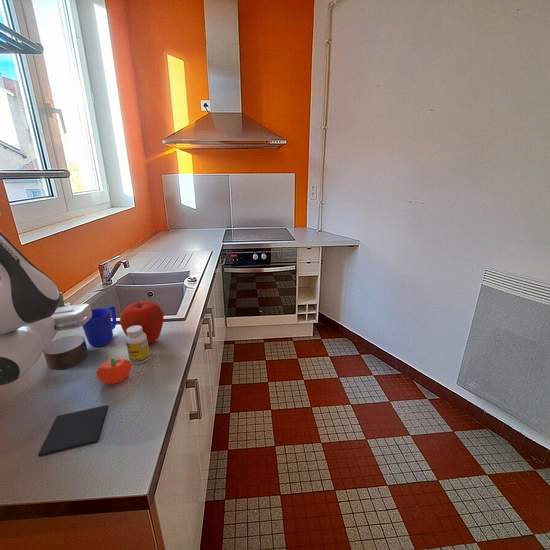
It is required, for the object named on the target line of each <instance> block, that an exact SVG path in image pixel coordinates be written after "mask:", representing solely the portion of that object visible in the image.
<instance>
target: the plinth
mask: <svg viewBox="0 0 550 550" xmlns="http://www.w3.org/2000/svg"><path fill="white" fill-rule="evenodd" d="M42 354H43V356H44V359H45V363H46V366H47V368H48V369H49V370H54V371H60V370H65V369H69V368H72V367H74V366H77V365H79V364H81V363H82V362H84V361H85V360H86V359H87V358H88V357H89V355H90V354H89V350H88V345H87V342H86V338H85V337H84V336H83V335H78V334H74V335H66V336H63V337H60V338H56V339H53V340H52V342H51V343H50V344H49V346H48V347H47V348H46V349H45V350H44V351H43V352H42Z"/></svg>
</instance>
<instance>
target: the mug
mask: <svg viewBox="0 0 550 550" xmlns="http://www.w3.org/2000/svg"><path fill="white" fill-rule="evenodd" d="M91 310H92V317H91V318H90V319H89V321H88V322H87V323H86V324H84V325H83V326H81V327H82V329H83V332H84V335H85V337H86V340H87V342H88V344H89V345H90V346H92V347H102V346H105V345H107V344H110V343H111V341H112V340H113V338H114V332H113V330H114V329H115V328H116V326H117V312H116V307H115V305H110V306H108V307H100V308H99V307H97V308H93V309H91Z"/></svg>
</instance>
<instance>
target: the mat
mask: <svg viewBox="0 0 550 550" xmlns="http://www.w3.org/2000/svg"><path fill="white" fill-rule="evenodd" d="M108 408H109V405H108V404H105V405H101V406H95V407H92V408H87V409H82V410H77V411H74V412H69V413H63V414H60V415H57V416H56V417H55V419H54V421H53V423H52V425H51V427H50V429H49V431H48V433H47V435H46V437H45V439H44V440H43V444H42V445H41V448H40V449H39V452H38V453H37V456H38V457H42V456H46V455H50V454H54V453H59V452H63V451H67V450H71V449H75V448H79V447H83V446H87V445H92V444H95V443H98V442H99V439H100V436H101V432H102V429H103V425H104V422H105V418H106V416H107V413H108Z"/></svg>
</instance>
